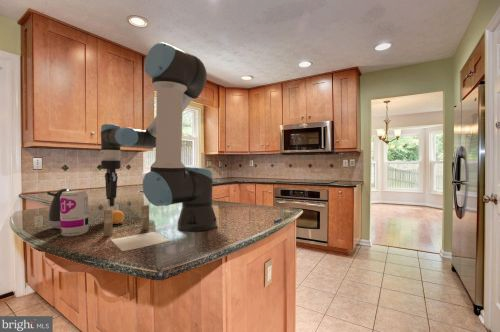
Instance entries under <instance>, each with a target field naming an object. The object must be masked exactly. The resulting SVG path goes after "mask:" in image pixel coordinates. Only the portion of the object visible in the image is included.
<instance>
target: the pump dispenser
mask: <svg viewBox="0 0 500 332" xmlns="http://www.w3.org/2000/svg"><path fill="white" fill-rule="evenodd" d="M66 191H72V190H71V189H69V188H62V189H58V191H57V192H53V191H47V192H46V194H47V195H48V196H52V197H53V198H52V200H51V203H50V206H49V209H48V214H47V221H48V222H49V224H50V226H51V227H52V228H54V229H56V230H60V196H61V194H62V192H66Z"/></svg>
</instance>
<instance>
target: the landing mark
mask: <svg viewBox="0 0 500 332" xmlns="http://www.w3.org/2000/svg"><path fill="white" fill-rule="evenodd" d="M110 241H111V243H113V244H114V245H115V246H116V247H117V248H118V249H119V250H120V251H121V252H127V251H132V250H135V249H136V250H137V249H140V248H141V249H142V248H145V247H149V246H150V247H151V246H155V245H160V244H164V243H169V242H170V240H169V239H167V238H165V237H163V236H162V235H160V234H158V233H157V232H155V231H150V232H146V233H140V234H134V235H128V236H124V237H123V236H122V237H118V238H112V239H110Z"/></svg>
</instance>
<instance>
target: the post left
mask: <svg viewBox="0 0 500 332" xmlns="http://www.w3.org/2000/svg"><path fill="white" fill-rule="evenodd" d="M113 224H114V223H113V217H112V209H107V208H104V209H103V231H104V232H103V235H104V237H110V236H113V235H114V233H113V230H114V229H113V228H114V227H113V226H114V225H113Z"/></svg>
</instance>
